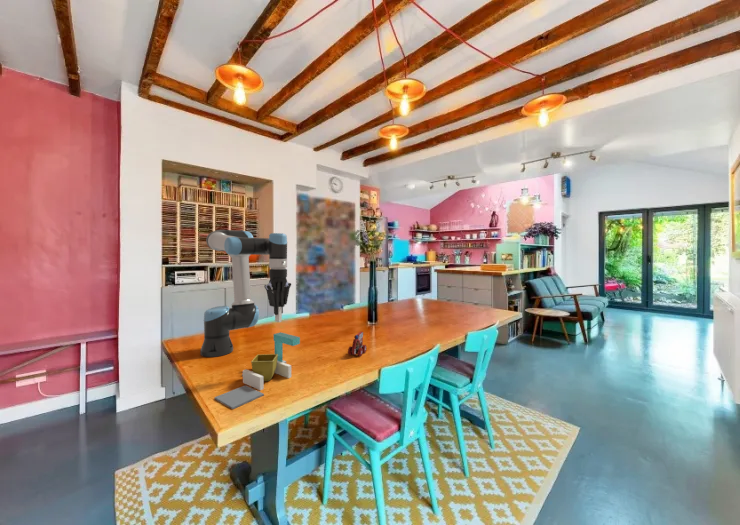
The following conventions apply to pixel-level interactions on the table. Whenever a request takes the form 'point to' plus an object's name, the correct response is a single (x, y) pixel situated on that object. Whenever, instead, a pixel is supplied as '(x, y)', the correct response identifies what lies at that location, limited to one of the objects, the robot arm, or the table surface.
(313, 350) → the table surface
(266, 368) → the flower pot
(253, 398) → the mat
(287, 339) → the gate
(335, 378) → the table surface
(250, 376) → the white bars
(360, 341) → the toy fire truck
